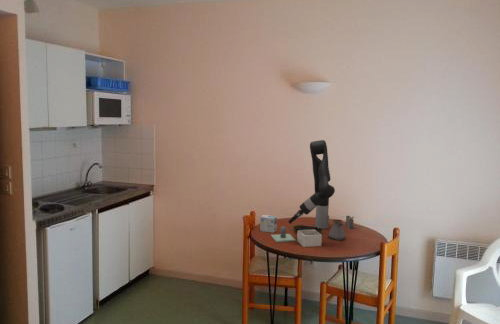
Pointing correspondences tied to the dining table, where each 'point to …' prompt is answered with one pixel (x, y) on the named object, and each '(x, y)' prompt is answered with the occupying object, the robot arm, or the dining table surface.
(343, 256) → the dining table surface
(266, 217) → the light bulb box
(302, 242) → the tub
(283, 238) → the lid
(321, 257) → the dining table surface
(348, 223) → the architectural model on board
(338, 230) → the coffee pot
